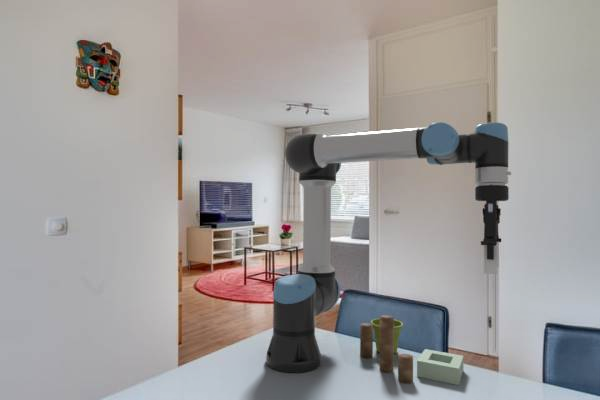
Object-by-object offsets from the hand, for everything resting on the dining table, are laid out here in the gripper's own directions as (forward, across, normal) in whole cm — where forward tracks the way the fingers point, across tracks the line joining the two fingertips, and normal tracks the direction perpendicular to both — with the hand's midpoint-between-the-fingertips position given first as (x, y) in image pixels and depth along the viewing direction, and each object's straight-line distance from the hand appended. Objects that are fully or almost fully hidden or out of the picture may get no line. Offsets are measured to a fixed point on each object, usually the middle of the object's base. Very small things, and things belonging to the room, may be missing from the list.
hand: (491, 270), depth 97 cm
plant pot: (+28, +9, +29) cm, 41 cm away
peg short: (+28, -9, +19) cm, 35 cm away
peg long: (+28, -5, +25) cm, 38 cm away
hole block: (+28, 0, +12) cm, 30 cm away
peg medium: (+28, +2, +33) cm, 43 cm away
